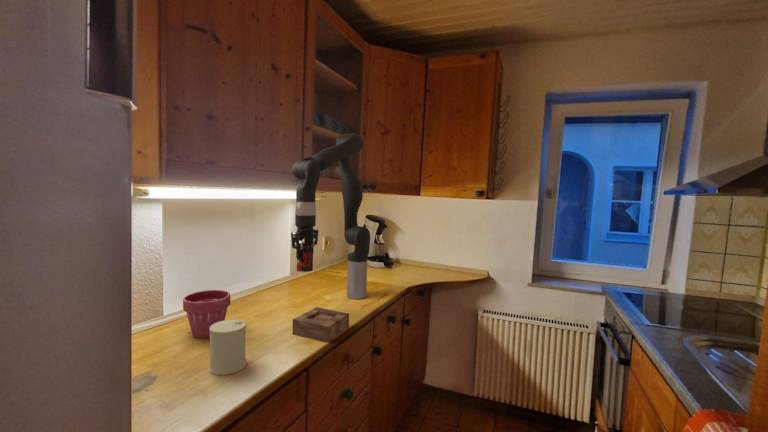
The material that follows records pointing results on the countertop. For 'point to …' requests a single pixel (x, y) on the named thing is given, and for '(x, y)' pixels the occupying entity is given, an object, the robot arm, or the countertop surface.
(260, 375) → the countertop surface
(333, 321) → the plinth
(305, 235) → the deodorant
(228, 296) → the plant pot
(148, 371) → the countertop surface
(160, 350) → the countertop surface
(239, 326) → the can
